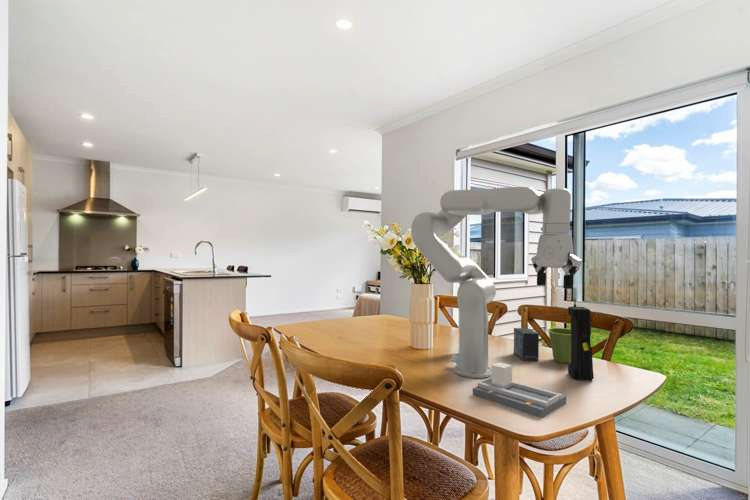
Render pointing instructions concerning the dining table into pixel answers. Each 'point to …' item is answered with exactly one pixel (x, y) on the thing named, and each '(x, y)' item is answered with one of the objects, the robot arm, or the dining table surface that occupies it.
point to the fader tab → (502, 375)
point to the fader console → (521, 397)
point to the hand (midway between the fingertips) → (554, 286)
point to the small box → (526, 344)
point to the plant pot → (561, 344)
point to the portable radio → (580, 344)
